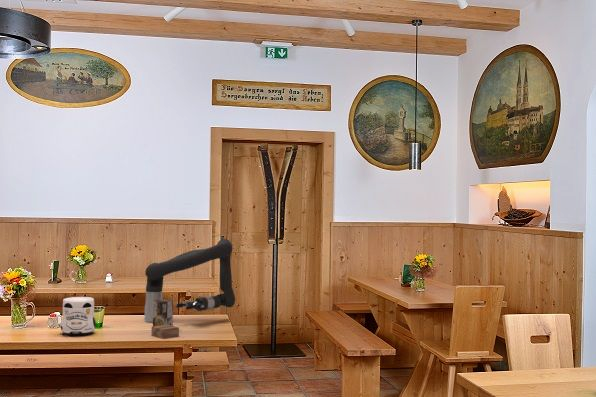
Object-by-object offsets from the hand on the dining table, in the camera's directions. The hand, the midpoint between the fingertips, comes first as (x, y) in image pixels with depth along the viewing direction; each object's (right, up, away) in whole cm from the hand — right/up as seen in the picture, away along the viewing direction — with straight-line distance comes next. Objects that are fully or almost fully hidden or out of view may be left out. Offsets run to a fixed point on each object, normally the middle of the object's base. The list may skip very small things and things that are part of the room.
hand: (181, 306), depth 390 cm
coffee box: (-9, -12, -9) cm, 17 cm away
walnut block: (-5, -12, -24) cm, 27 cm away
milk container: (-50, -11, -22) cm, 56 cm away
